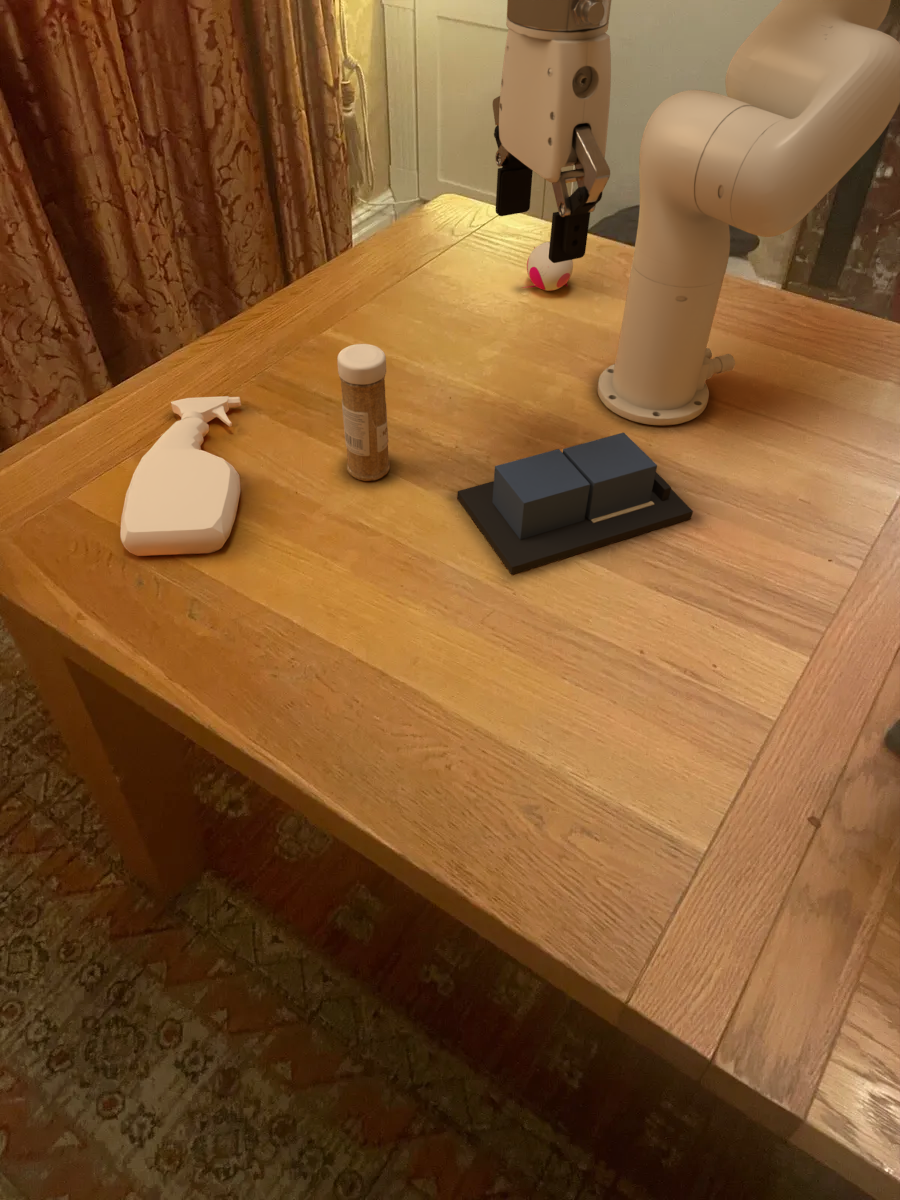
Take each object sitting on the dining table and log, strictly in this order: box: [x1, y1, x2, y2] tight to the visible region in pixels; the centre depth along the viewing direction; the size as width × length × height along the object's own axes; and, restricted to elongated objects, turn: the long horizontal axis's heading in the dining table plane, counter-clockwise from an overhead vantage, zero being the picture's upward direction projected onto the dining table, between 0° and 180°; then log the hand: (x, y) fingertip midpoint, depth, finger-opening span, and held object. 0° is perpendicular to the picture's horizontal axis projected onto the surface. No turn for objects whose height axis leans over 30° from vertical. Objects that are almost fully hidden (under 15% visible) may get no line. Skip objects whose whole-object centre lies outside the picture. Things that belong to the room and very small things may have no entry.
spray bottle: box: [119, 395, 242, 557], centre depth 92 cm, size 3×11×24 cm
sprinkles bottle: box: [336, 343, 391, 482], centre depth 89 cm, size 5×5×13 cm
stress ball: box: [521, 241, 574, 292], centre depth 121 cm, size 8×8×7 cm
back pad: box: [562, 432, 658, 520], centre depth 89 cm, size 7×6×4 cm
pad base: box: [457, 448, 694, 575], centre depth 88 cm, size 20×12×6 cm, turn 114°
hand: (538, 235), depth 78 cm, fingers open, 9 cm apart
